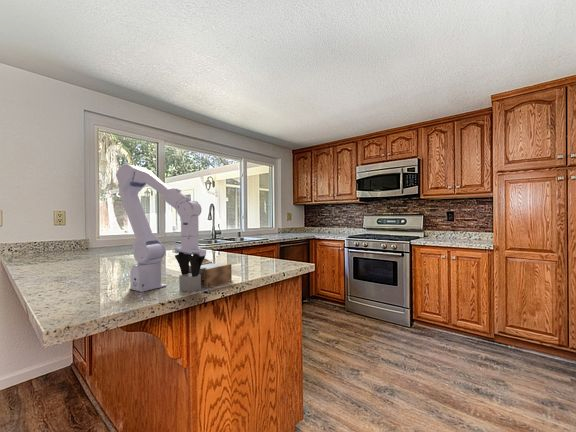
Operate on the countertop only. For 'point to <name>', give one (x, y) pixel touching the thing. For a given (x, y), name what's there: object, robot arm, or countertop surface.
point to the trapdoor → (206, 267)
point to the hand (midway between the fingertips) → (190, 275)
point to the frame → (215, 275)
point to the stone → (189, 282)
